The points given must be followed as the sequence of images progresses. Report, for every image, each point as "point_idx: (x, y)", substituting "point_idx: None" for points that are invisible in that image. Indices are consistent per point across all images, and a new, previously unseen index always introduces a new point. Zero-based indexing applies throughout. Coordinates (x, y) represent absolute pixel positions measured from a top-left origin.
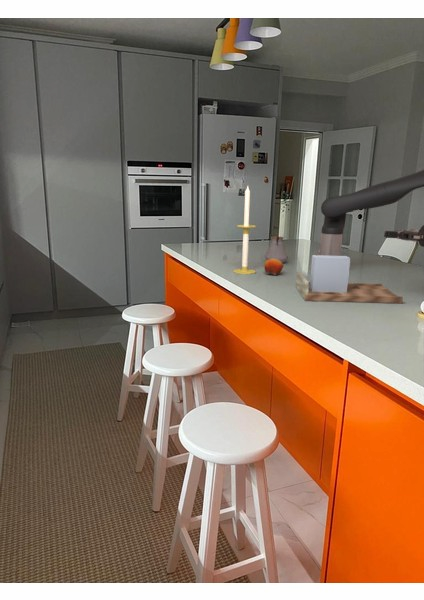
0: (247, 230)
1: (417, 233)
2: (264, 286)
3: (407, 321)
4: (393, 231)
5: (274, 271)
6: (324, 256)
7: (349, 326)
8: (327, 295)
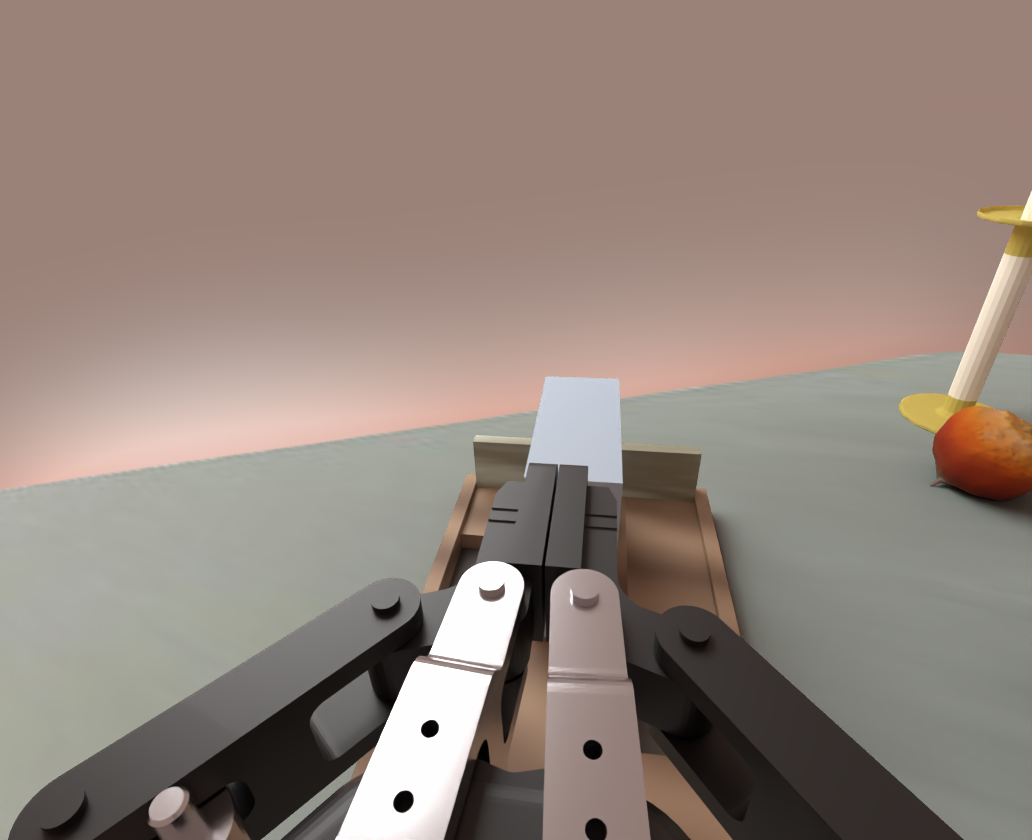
0: (1018, 238)
1: (87, 779)
2: (687, 436)
3: (11, 758)
4: (523, 520)
5: (938, 463)
6: (582, 404)
7: (145, 528)
8: (446, 530)
